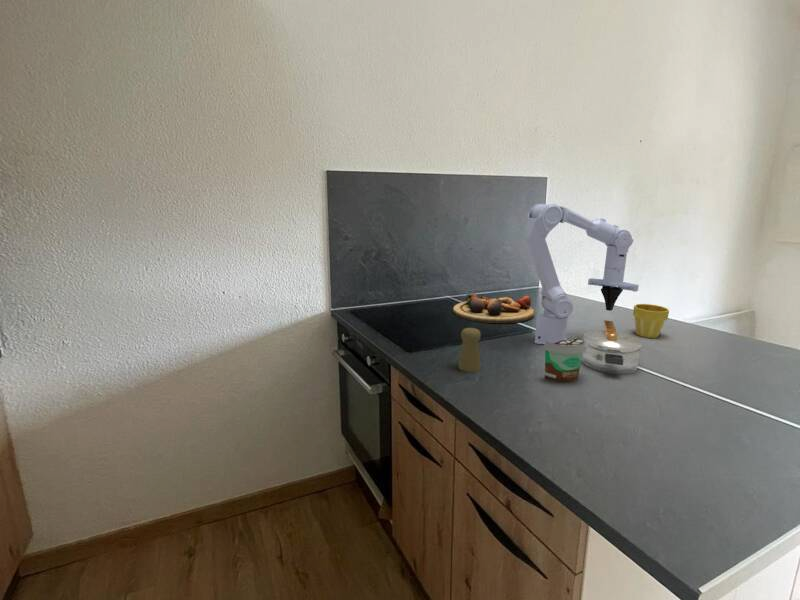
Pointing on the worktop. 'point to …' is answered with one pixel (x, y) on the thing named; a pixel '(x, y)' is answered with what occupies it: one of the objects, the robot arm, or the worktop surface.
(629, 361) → the cooker pot
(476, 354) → the cork
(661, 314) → the plant pot
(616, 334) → the lid
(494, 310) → the wooden plate with food
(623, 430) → the worktop surface
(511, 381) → the worktop surface
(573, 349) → the food container
